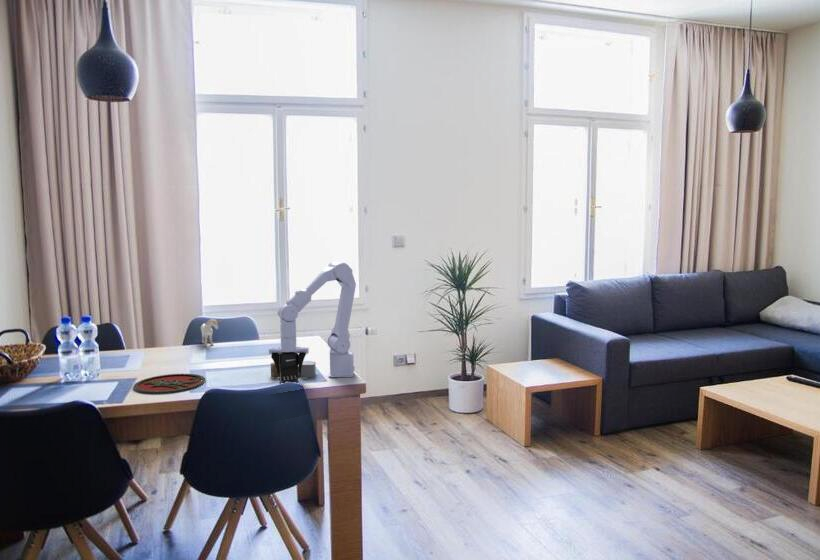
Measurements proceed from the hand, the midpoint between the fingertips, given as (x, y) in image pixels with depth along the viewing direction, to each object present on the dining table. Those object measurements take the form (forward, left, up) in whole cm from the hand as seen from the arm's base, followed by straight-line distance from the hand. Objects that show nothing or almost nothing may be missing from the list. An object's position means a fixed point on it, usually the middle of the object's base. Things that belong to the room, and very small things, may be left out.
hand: (289, 372), depth 232 cm
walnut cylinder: (+6, -8, -3) cm, 11 cm away
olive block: (0, -10, -4) cm, 11 cm away
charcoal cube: (-6, -8, -4) cm, 11 cm away
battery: (0, 0, -4) cm, 4 cm away
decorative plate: (+44, +1, -4) cm, 44 cm away
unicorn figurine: (+47, -70, -4) cm, 84 cm away
